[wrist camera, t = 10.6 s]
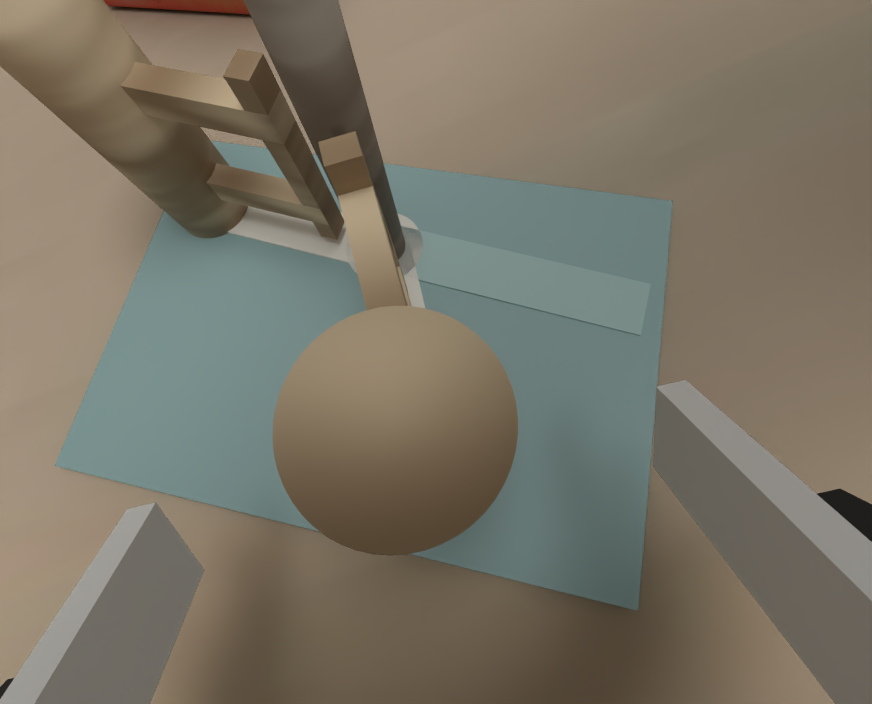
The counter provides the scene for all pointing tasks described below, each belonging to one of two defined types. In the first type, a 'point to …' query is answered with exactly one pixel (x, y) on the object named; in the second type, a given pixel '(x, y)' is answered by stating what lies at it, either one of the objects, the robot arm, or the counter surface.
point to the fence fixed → (203, 109)
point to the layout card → (427, 288)
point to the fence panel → (391, 403)
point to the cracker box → (186, 5)
